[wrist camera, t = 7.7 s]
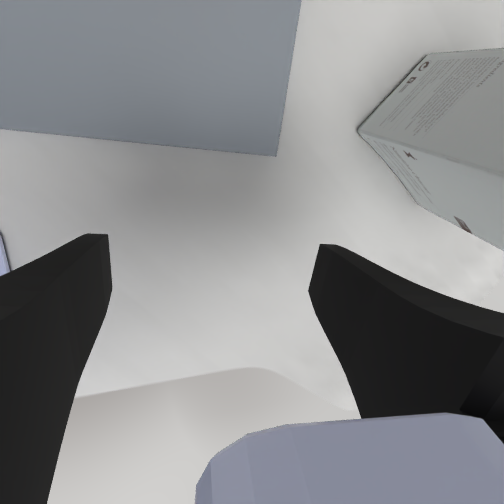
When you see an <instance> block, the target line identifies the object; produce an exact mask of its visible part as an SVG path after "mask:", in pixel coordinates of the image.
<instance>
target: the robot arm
mask: <svg viewBox="0 0 504 504" xmlns="http://www.w3.org/2000/svg"><path fill="white" fill-rule="evenodd" d="M111 292H112V277H111V265H110V252H109V240H108V234H85V235H82V236H80V237H78V238H76V239H74V240H72V241H70V242H68V243H67V244H65V245H63V246H61V247H59V248H57V249H55V250H54V251H52V252H50V253H48V254H46V255H44V256H42V257H40V258H38V259H36V260H34V261H32V262H30V263H28V264H26V265H23V266H21V267H19V268H17V269H15V270H13V271H11V272H10V269H9V265H8V261H7V257H6V253H5V249H4V245H3V241H2V238H1V236H0V504H47V501H48V496H49V492H50V488H51V484H52V480H53V476H54V472H55V468H56V464H57V459H58V455H59V452H60V448H61V444H62V440H63V436H64V432H65V429H66V425H67V421H68V417H69V414H70V410H71V407H72V403H73V400H74V396H75V393H76V389H77V386H78V383H79V380H80V378H81V375H82V372H83V369H84V367H85V365H86V362H87V360H88V357H89V355H90V352H91V350H92V348H93V345H94V343H95V340H96V338H97V336H98V333H99V331H100V328H101V326H102V323H103V321H104V318H105V316H106V313H107V309H108V305H109V301H110V296H111ZM308 292H309V295H310V298H311V302H312V305H313V308H314V311H315V313H316V316H317V318H318V320H319V322H320V324H321V326H322V328H323V330H324V332H325V334H326V336H327V338H328V340H329V342H330V344H331V346H332V347H333V349H334V351H335V353H336V355H337V357H338V359H339V361H340V363H341V365H342V368H343V370H344V372H345V374H346V377H347V379H348V382H349V385H350V387H351V390H352V393H353V395H354V398H355V401H356V404H357V407H358V410H359V412H360V415H361V418H362V419H353V420H341V421H327V422H313V423H299V424H286V425H282V426H278V427H274V428H269V429H266V430H261V431H257V432H253V433H249V434H246V435H245V436H243V437H242V438H240V439H238V440H237V441H235V442H234V443H232V444H231V445H229V446H227V447H226V448H224V449H223V450H221V451H220V452H218V453H217V454H216V455H215V456H214V457H213V458H212V459H211V460H210V462H209V463H208V465H207V467H206V469H205V471H204V472H203V474H202V476H201V478H200V480H199V481H198V483H197V485H196V495H195V504H504V313H500V312H496V311H493V310H489V309H485V308H482V307H479V306H476V305H473V304H469V303H466V302H463V301H460V300H457V299H454V298H451V297H448V296H446V295H443V294H440V293H438V292H435V291H433V290H430V289H428V288H425V287H423V286H420V285H418V284H416V283H413V282H411V281H409V280H407V279H405V278H403V277H401V276H399V275H396V274H394V273H392V272H390V271H388V270H386V269H384V268H383V267H381V266H379V265H377V264H375V263H373V262H371V261H369V260H367V259H365V258H364V257H362V256H360V255H358V254H356V253H354V252H352V251H350V250H348V249H346V248H343V247H341V246H338V245H332V244H320V246H319V250H318V254H317V258H316V262H315V266H314V270H313V274H312V278H311V282H310V286H309V290H308Z"/></svg>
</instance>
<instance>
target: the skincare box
mask: <svg viewBox="0 0 504 504" xmlns="http://www.w3.org/2000/svg"><path fill="white" fill-rule="evenodd" d="M358 133H359V134H360V135H361V136H362V138H363V139H364V140H365V141H367V142H368V143H369V144H370V145H371V146H372V147H373V148H374V150H375V151H376V152H377V153H378V154H379V155H380V156H381V157H382V158H383V160H384V161H385V162H386V163H387V164H388V165H389V167H390V168H391V169H392V170H393V171H394V173H395V174H396V175H397V176H398V178H399V179H400V180H401V182H402V183H403V184H404V186H405V187H406V188H407V189H408V191H409V192H410V194H411V195H412V197H413V198H414V200H415V201H416V202H417V203H418V204H419V205H420V206H421V207H423V208H425V209H426V210H428V211H430V212H432V213H434V214H436V215H437V216H439V217H441V218H443V219H445V220H447V221H449V222H451V223H453V224H454V225H456V226H458V227H460V228H462V229H464V230H465V231H467V232H469V233H471V234H473V235H475V236H477V237H478V238H480V239H482V240H484V241H486V242H488V243H489V244H491V245H493V246H495V247H497V248H499V249H501V250H503V251H504V48H498V49H484V50H470V51H457V52H444V53H431V54H428V55H427V56H426V57H425V58H424V59H423V60H422V61H421V62H420V63H419V64H418V65H417V66H416V67H415V69H414V70H413V71H412V72H411V73H410V74H409V75H408V76H407V78H406V79H405V80H404V81H403V82H402V83H401V84H400V85H399V86H398V87H397V88H396V89H395V90H394V91H393V92H392V93H391V94H390V95H389V96H388V97H387V98H386V99H385V100H384V101H383V102H382V103H381V104H380V106H379V107H378V108H377V109H376V110H375V111H374V112H373V113H372V114H371V115H370V116H369V117H368V118H367V119H366V121H365V122H364V123H363V124H362V125H361V126H360V127H359V128H358Z"/></svg>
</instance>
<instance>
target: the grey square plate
mask: <svg viewBox="0 0 504 504" xmlns="http://www.w3.org/2000/svg"><path fill="white" fill-rule="evenodd" d="M300 6H301V0H0V129H6V130H16V131H26V132H36V133H46V134H56V135H66V136H76V137H86V138H96V139H106V140H116V141H126V142H136V143H146V144H156V145H166V146H175V147H185V148H195V149H205V150H215V151H225V152H235V153H245V154H255V155H265V156H275V157H276V156H277V150H278V143H279V137H280V131H281V125H282V118H283V112H284V106H285V100H286V93H287V87H288V81H289V75H290V69H291V62H292V56H293V50H294V44H295V37H296V31H297V25H298V19H299V13H300Z"/></svg>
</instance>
